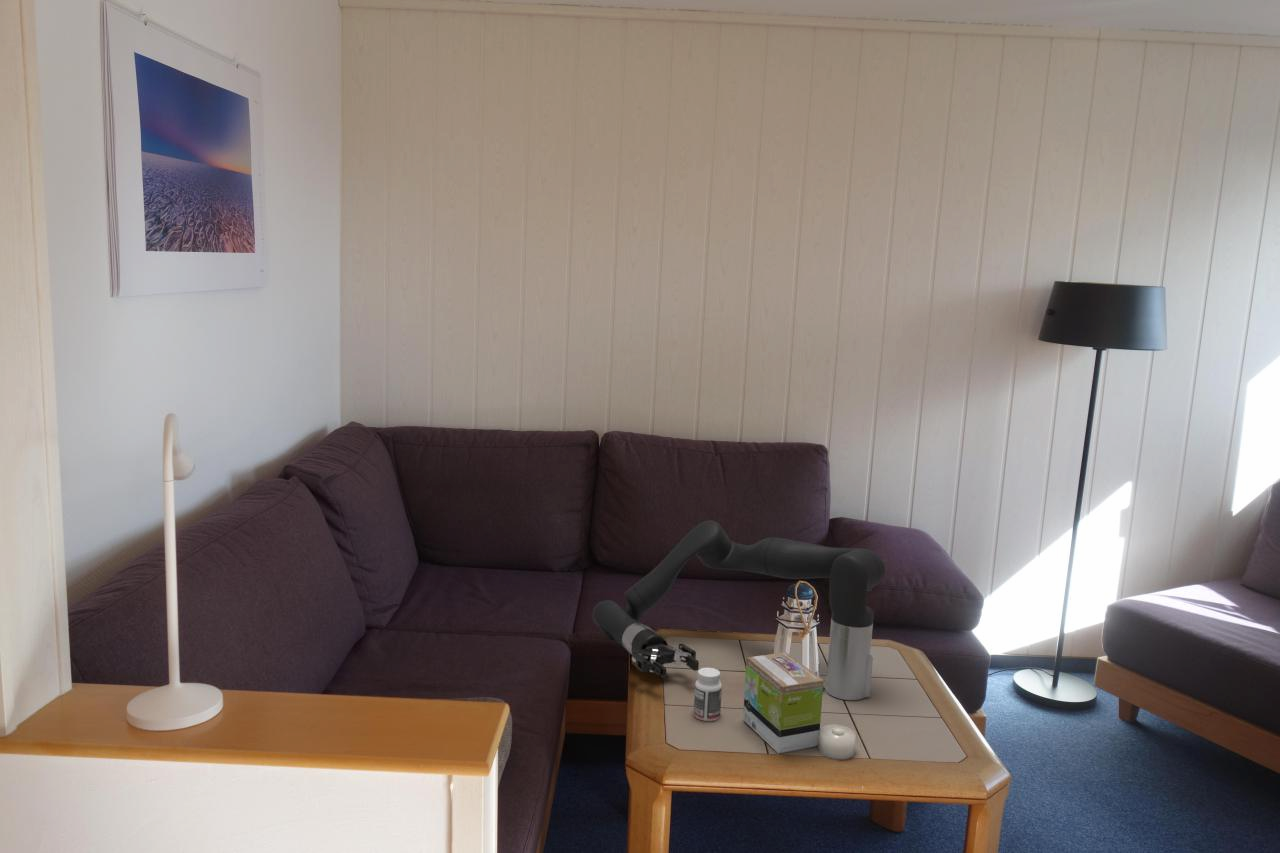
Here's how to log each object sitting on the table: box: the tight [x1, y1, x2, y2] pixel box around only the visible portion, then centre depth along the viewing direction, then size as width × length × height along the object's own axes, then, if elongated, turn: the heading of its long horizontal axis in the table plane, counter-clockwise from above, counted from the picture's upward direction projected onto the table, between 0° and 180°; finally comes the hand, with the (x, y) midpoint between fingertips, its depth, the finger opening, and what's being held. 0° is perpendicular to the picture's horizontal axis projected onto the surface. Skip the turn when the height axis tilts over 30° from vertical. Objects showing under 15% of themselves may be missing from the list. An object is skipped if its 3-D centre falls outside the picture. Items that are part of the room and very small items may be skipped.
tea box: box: [742, 651, 824, 754], centre depth 204 cm, size 15×10×15 cm, turn 23°
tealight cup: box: [818, 723, 857, 761], centre depth 198 cm, size 7×7×5 cm
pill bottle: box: [693, 667, 723, 722], centre depth 210 cm, size 6×6×10 cm
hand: (680, 669), depth 220 cm, fingers open, 8 cm apart
